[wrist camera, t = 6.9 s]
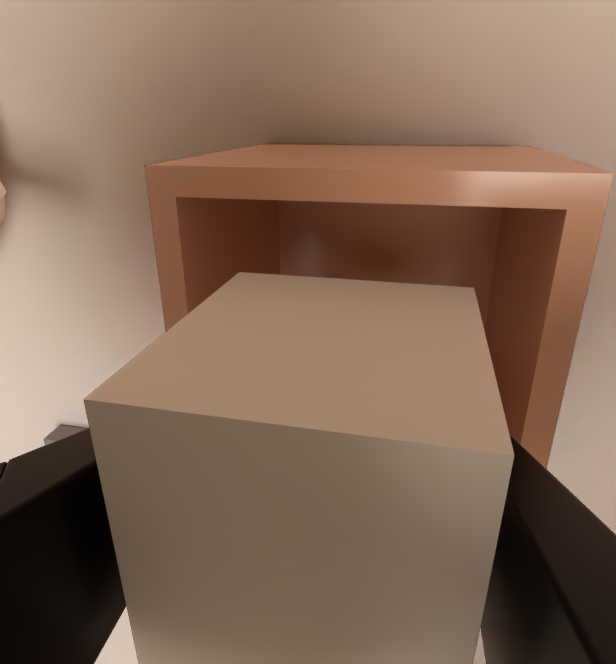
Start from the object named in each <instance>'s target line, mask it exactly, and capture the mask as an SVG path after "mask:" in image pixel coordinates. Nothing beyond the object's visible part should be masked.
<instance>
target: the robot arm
mask: <svg viewBox="0 0 616 664" xmlns="http://www.w3.org/2000/svg"><path fill="white" fill-rule="evenodd" d="M509 435H510V434H509ZM510 439H511V443H512V447H513V451H514V460H513V465H512V470H511V475H510V480H509V485H508V490H507V495H506V500H505V505H504V510H503V515H502V520H501V525H500V530H499V535H498V540H497V545H496V550H495V555H494V561H493V566H492V571H491V576H490V581H489V586H488V591H487V596H486V601H485V606H484V611H483V616H482V621H481V626H480V627H481V633H482V640H483V647H484V653H485V660H486V664H616V534H615V533H614V532H613V531H611V530H610V529H609V528H608V527H607V526H606V525H605V524H604V523H603V522H602V521H601V520H600V519H599V518H598V517H597V516H596V515H595V514H593V513H592V512H591V511H590V510H589V509H588V508H587V507H586V506H585V505H584V504H583V503H582V502H581V501H580V500H579V499H578V498H577V497H576V496H574V495H573V494H572V493H571V492H570V491H569V490H568V489H567V488H566V487H565V486H564V485H563V484H562V483H561V482H560V481H559V480H558V479H557V478H555V477H554V476H553V475H552V474H551V473H550V472H549V471H548V470H547V469H546V468H545V467H544V466H543V465H542V464H541V463H540V462H539V461H537V460H536V459H535V458H534V457H533V456H532V455H531V454H530V453H529V452H528V451H527V450H526V449H525V448H524V447H523V446H522V445H521V444H520V443H518V442H517V441H516V440H515V439H514V438H513V437H512V436H511V435H510ZM125 607H126V601H125V596H124V592H123V587H122V582H121V577H120V572H119V568H118V563H117V558H116V553H115V548H114V544H113V539H112V534H111V529H110V524H109V520H108V515H107V510H106V505H105V500H104V495H103V491H102V486H101V481H100V476H99V471H98V467H97V462H96V457H95V452H94V447H93V443H92V438H91V433H90V428H87V429H85V430H82V431H80V432H78V433H75V434H73V435H70V436H68V437H65V438H63V439H60V440H58V441H55V442H53V443H50V444H48V445H45V446H43V447H40V448H38V449H35V450H33V451H30V452H28V453H25V454H23V455H20V456H18V457H15V458H13V459H10V460H9V461H8V463H7V462H2V463H0V664H94V663H95V661H96V659H97V657H98V656H99V654H100V652H101V650H102V648H103V647H104V645H105V643H106V641H107V640H108V638H109V636H110V634H111V632H112V631H113V629H114V627H115V625H116V623H117V622H118V620H119V618H120V616H121V615H122V613H123V611H124V609H125Z"/></svg>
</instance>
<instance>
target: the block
mask: <svg viewBox="0 0 616 664" xmlns="http://www.w3.org/2000/svg"><path fill="white" fill-rule="evenodd" d="M84 404H85V409H86V414H87V419H88V423H89V428H90V433H91V438H92V443H93V447H94V452H95V457H96V462H97V467H98V471H99V476H100V481H101V486H102V491H103V495H104V500H105V505H106V510H107V515H108V520H109V524H110V529H111V534H112V539H113V544H114V548H115V553H116V558H117V563H118V568H119V572H120V577H121V582H122V587H123V592H124V596H125V601H126V606H127V611H128V616H129V621H130V625H131V630H132V635H133V640H134V645H135V649H136V654H137V659H138V664H473V661H474V656H475V651H476V646H477V641H478V636H479V631H480V626H481V621H482V616H483V611H484V606H485V601H486V596H487V591H488V586H489V581H490V576H491V571H492V566H493V561H494V555H495V550H496V545H497V540H498V535H499V530H500V525H501V520H502V515H503V510H504V505H505V500H506V495H507V490H508V485H509V480H510V475H511V470H512V465H513V460H514V451H513V447H512V443H511V439H510V435H509V431H508V426H507V422H506V418H505V414H504V410H503V406H502V402H501V397H500V393H499V389H498V385H497V381H496V377H495V373H494V368H493V364H492V360H491V356H490V352H489V348H488V343H487V339H486V335H485V331H484V327H483V323H482V319H481V314H480V310H479V306H478V302H477V298H476V294H475V290H474V288H472V287H457V286H442V285H426V284H411V283H396V282H381V281H366V280H351V279H336V278H321V277H306V276H291V275H276V274H261V273H246V272H239V273H238V274H236V275H235V276H234V277H233V278H231V279H230V280H229V281H228V282H227V283H225V284H224V285H223V286H222V287H220V288H219V289H218V290H217V291H215V292H214V293H213V294H212V295H211V296H209V297H208V298H207V299H206V300H204V301H203V302H202V303H201V304H200V305H198V306H197V307H196V308H195V309H193V310H192V311H191V312H190V313H189V314H187V315H186V316H185V317H184V318H182V319H181V320H180V321H179V322H178V323H176V324H175V325H174V326H173V327H171V328H170V329H169V330H168V331H167V332H165V333H164V334H163V335H162V336H160V337H159V338H158V339H157V340H155V341H154V342H153V343H152V344H151V345H149V346H148V347H147V348H146V349H144V350H143V351H142V352H141V353H140V354H138V355H137V356H136V357H135V358H133V359H132V360H131V361H130V362H129V363H127V364H126V365H125V366H124V367H122V368H121V369H120V370H119V371H118V372H116V373H115V374H114V375H113V376H111V377H110V378H109V379H108V380H106V381H105V382H104V383H103V384H102V385H100V386H99V387H98V388H97V389H95V390H94V391H93V392H92V393H91V394H89V395H88V396H87V397H86V398H84Z"/></svg>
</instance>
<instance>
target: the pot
mask: <svg viewBox="0 0 616 664" xmlns="http://www.w3.org/2000/svg"><path fill="white" fill-rule="evenodd" d="M145 173H146V181H147V189H148V196H149V204H150V212H151V220H152V228H153V236H154V243H155V251H156V259H157V267H158V275H159V282H160V290H161V298H162V306H163V314H164V322H165V329H166V332H167V331H168V330H169V329H170V328H171V327H173V326H174V325H175V324H176V323H178V322H179V321H180V320H181V319H182V318H184V317H185V316H186V315H187V314H189V313H190V312H191V311H192V310H193V309H195V308H196V307H197V306H198V305H200V304H201V303H202V302H203V301H204V300H206V299H207V298H208V297H209V296H211V295H212V294H213V293H214V292H215V291H217V290H218V289H219V288H220V287H222V286H223V285H224V284H225V283H227V282H228V281H229V280H230V279H231V278H233V277H234V276H235V275H236V274H238V273H239V272H246V273H261V274H276V275H291V276H306V277H321V278H336V279H351V280H366V281H381V282H396V283H411V284H426V285H442V286H457V287H472V288H474V290H475V294H476V298H477V302H478V306H479V310H480V314H481V319H482V323H483V327H484V331H485V335H486V339H487V343H488V348H489V352H490V356H491V360H492V364H493V368H494V373H495V377H496V381H497V385H498V389H499V393H500V397H501V402H502V406H503V410H504V414H505V418H506V422H507V426H508V431H509V434H510V435H511V436H512V437H513V438H514V439H515V440H516V441H517V442H518V443H520V444H521V445H522V446H523V447H524V448H525V449H526V450H527V451H528V452H529V453H530V454H531V455H532V456H533V457H534V458H535V459H536V460H537V461H539V462H540V463H541V464H542V465H543V466H544V467H545V468H547V464H548V460H549V455H550V451H551V446H552V442H553V438H554V433H555V429H556V425H557V420H558V416H559V412H560V407H561V403H562V398H563V394H564V390H565V385H566V381H567V377H568V372H569V368H570V363H571V359H572V355H573V350H574V346H575V342H576V337H577V333H578V329H579V324H580V320H581V315H582V311H583V307H584V302H585V298H586V294H587V289H588V285H589V281H590V276H591V272H592V267H593V263H594V259H595V254H596V250H597V246H598V241H599V237H600V232H601V228H602V224H603V219H604V215H605V211H606V206H607V202H608V198H609V193H610V189H611V184H612V180H613V176H614V173H611V172H607V171H604V170H601V169H598V168H595V167H592V166H589V165H586V164H583V163H580V162H577V161H574V160H571V159H568V158H565V157H562V156H559V155H556V154H553V153H550V152H547V151H544V150H541V149H538V148H535V147H531V146H471V145H343V144H261V145H256V146H250V147H245V148H239V149H233V150H228V151H222V152H216V153H211V154H205V155H199V156H194V157H188V158H182V159H177V160H171V161H165V162H160V163H154V164H148V165H145Z"/></svg>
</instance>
